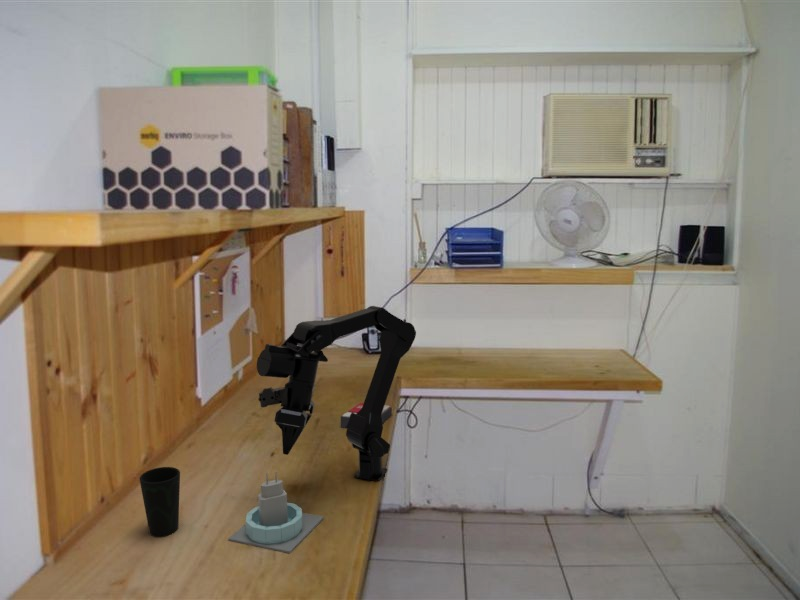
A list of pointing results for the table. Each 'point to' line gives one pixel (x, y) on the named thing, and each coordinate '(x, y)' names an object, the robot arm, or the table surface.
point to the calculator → (345, 418)
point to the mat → (307, 526)
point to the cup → (161, 500)
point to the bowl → (274, 527)
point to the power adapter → (272, 503)
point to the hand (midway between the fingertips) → (288, 449)
